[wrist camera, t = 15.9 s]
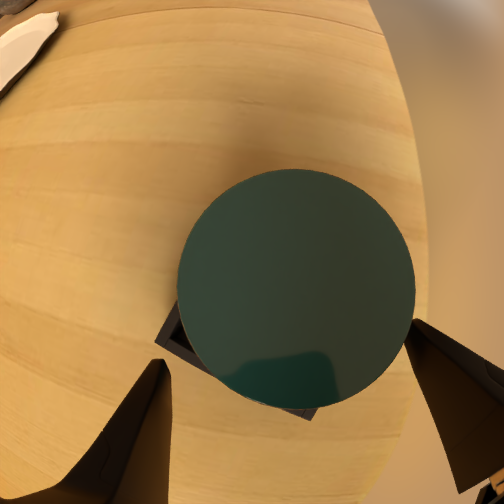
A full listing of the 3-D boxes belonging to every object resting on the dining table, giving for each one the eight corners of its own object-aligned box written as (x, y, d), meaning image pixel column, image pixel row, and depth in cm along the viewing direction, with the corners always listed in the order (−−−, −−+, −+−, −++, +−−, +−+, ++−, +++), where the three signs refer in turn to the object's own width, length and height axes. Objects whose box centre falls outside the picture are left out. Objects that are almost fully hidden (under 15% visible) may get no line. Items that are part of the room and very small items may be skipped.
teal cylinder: (317, 365, 16) (407, 404, 6) (211, 357, 16) (163, 395, 6) (324, 263, 17) (408, 186, 7) (223, 253, 17) (198, 158, 7)
